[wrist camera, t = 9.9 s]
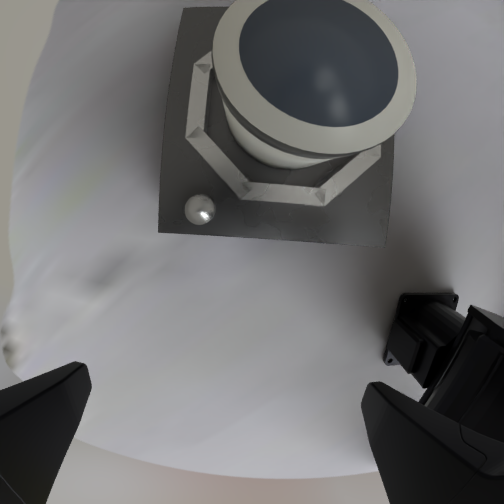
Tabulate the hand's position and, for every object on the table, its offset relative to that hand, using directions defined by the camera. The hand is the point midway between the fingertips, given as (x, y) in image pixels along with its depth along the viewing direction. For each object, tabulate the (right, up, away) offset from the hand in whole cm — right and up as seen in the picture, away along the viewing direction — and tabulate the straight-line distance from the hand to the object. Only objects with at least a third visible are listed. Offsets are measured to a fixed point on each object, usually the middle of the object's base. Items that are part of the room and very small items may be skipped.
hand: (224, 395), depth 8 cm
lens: (+3, +11, +5) cm, 13 cm away
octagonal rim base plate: (+2, +12, +10) cm, 16 cm away
